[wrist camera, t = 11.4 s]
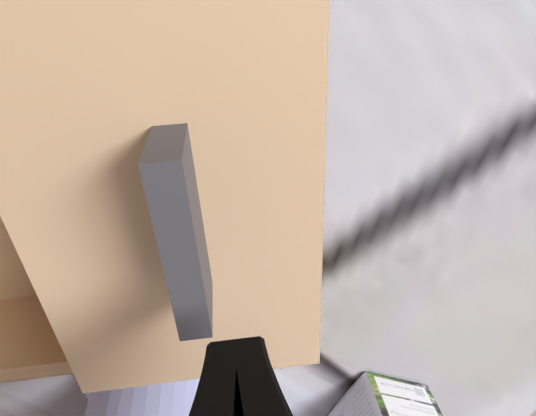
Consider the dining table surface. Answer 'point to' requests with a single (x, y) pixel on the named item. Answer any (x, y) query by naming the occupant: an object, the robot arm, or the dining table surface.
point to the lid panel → (166, 177)
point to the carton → (24, 323)
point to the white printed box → (386, 398)
